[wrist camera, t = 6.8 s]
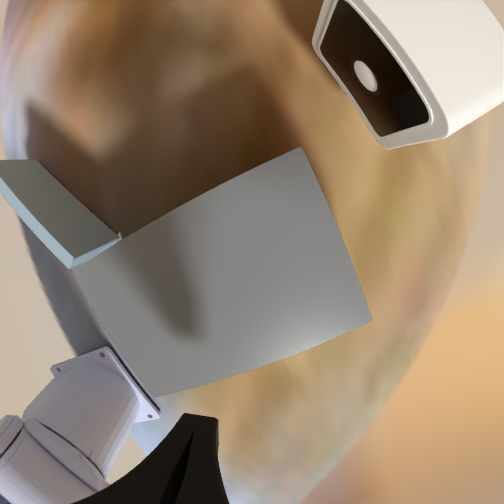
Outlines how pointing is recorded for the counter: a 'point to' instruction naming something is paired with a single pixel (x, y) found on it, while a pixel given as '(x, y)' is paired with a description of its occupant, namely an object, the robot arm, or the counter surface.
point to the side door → (53, 212)
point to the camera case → (228, 280)
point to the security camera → (413, 64)
